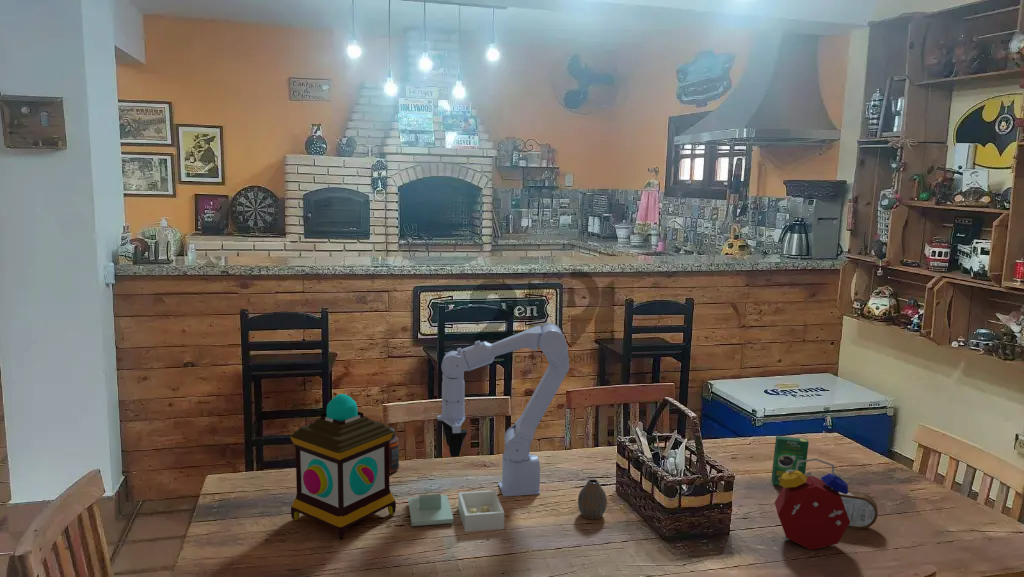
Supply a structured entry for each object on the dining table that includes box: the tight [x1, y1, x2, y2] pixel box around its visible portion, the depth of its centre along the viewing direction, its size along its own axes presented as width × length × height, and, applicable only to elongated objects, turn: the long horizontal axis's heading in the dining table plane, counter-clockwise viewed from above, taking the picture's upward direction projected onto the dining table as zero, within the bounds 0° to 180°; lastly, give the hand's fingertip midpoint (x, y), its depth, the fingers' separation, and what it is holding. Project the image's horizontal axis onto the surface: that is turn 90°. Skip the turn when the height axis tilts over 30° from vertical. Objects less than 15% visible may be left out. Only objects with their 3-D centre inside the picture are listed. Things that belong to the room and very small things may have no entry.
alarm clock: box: [774, 458, 850, 551], centre depth 158 cm, size 15×9×20 cm, turn 77°
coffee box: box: [771, 435, 809, 487], centre depth 190 cm, size 8×3×13 cm, turn 79°
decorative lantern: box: [289, 393, 397, 542], centre depth 167 cm, size 20×20×30 cm
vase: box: [577, 478, 608, 520], centre depth 172 cm, size 7×7×9 cm
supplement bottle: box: [389, 427, 400, 474], centre depth 196 cm, size 6×6×11 cm
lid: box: [407, 493, 454, 527], centre depth 171 cm, size 10×13×5 cm
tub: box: [457, 489, 505, 533], centre depth 170 cm, size 9×12×4 cm
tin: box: [839, 489, 879, 530], centre depth 170 cm, size 15×3×8 cm, turn 71°
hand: (453, 450), depth 184 cm, fingers open, 7 cm apart
